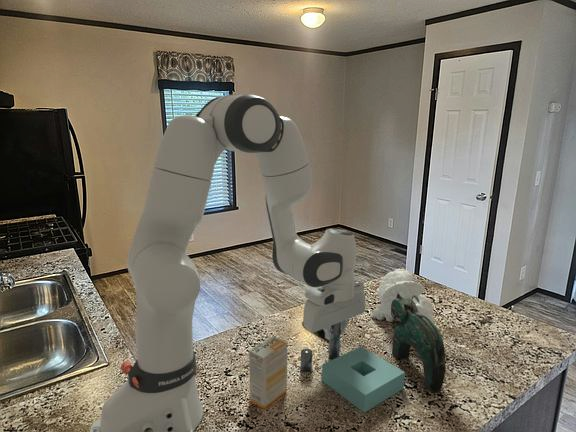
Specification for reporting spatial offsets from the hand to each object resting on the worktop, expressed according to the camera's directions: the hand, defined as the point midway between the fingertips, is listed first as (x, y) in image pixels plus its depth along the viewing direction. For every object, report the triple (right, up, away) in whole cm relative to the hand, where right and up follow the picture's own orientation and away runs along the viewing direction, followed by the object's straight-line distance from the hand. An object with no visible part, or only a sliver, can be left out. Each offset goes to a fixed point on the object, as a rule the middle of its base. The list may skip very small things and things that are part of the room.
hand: (334, 336), depth 106 cm
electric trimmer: (-3, -4, +14) cm, 15 cm away
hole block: (+5, -9, -10) cm, 15 cm away
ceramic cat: (+21, -8, -4) cm, 22 cm away
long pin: (0, -6, +1) cm, 6 cm away
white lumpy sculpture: (+24, -2, +23) cm, 34 cm away
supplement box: (-17, -10, -15) cm, 25 cm away
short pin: (-8, -7, -5) cm, 12 cm away
